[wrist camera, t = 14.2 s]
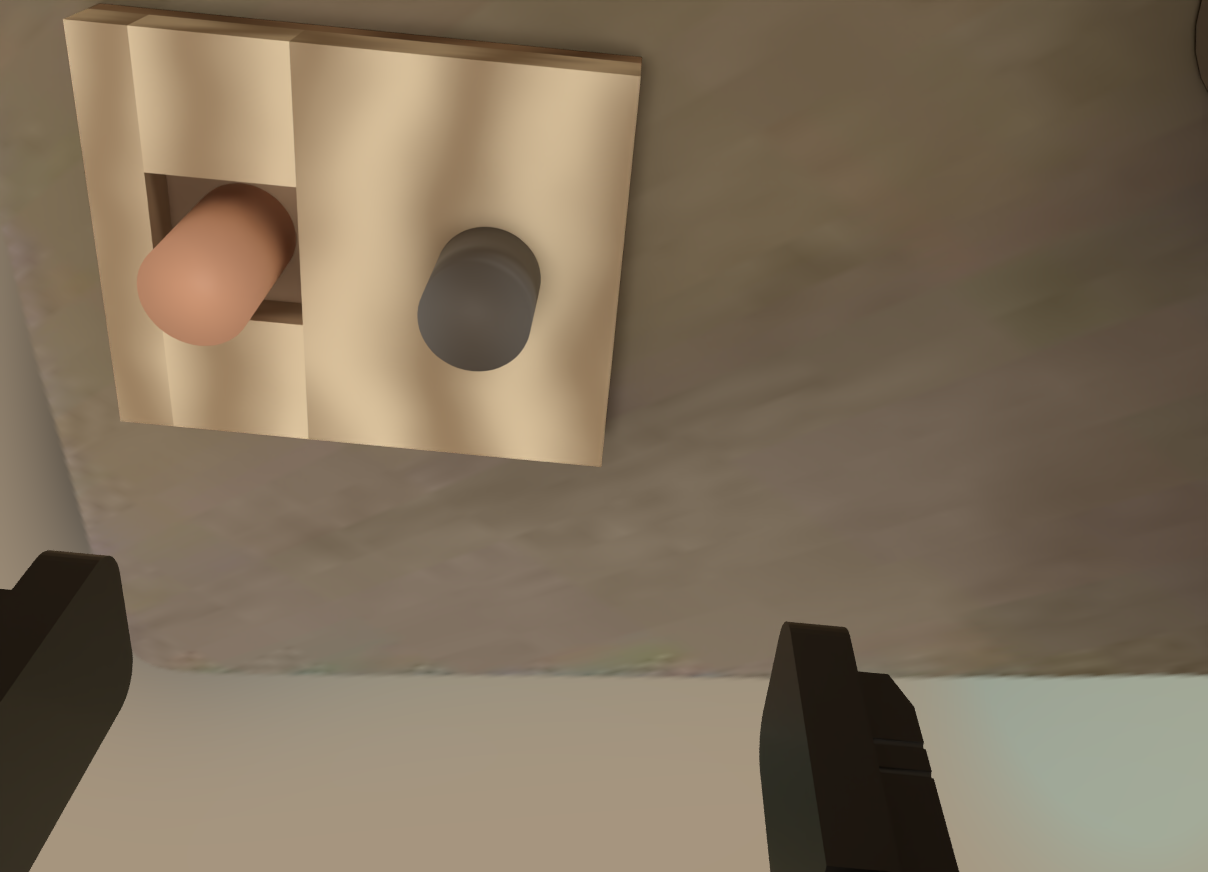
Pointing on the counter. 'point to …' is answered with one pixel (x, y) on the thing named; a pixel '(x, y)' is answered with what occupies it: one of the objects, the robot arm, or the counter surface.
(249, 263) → the terracotta pin
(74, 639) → the robot arm
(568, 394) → the pin board
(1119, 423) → the counter surface
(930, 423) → the counter surface
